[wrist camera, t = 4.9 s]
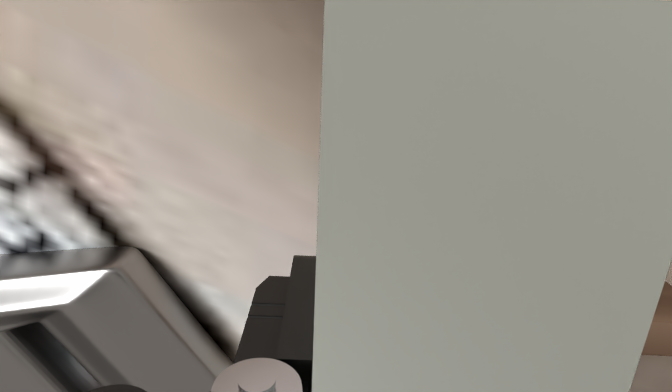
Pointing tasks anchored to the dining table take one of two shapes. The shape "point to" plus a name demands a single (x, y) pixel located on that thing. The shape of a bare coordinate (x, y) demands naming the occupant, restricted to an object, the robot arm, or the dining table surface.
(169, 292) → the emblem
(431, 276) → the door panel
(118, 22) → the dining table surface
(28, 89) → the dining table surface
